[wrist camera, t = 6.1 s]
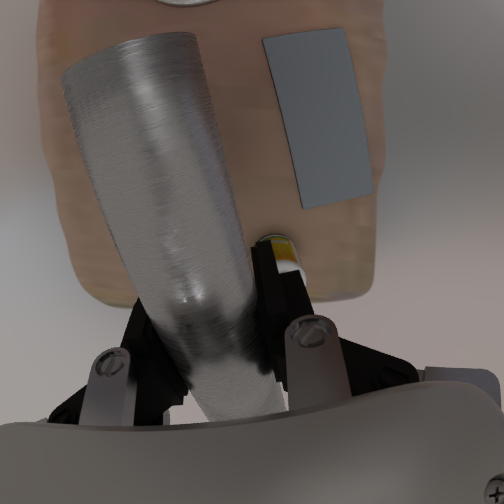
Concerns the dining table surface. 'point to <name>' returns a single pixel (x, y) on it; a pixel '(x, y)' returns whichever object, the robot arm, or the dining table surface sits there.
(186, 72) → the grey metallic bar
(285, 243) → the supplement bottle
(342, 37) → the slate mat
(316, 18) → the dining table surface
